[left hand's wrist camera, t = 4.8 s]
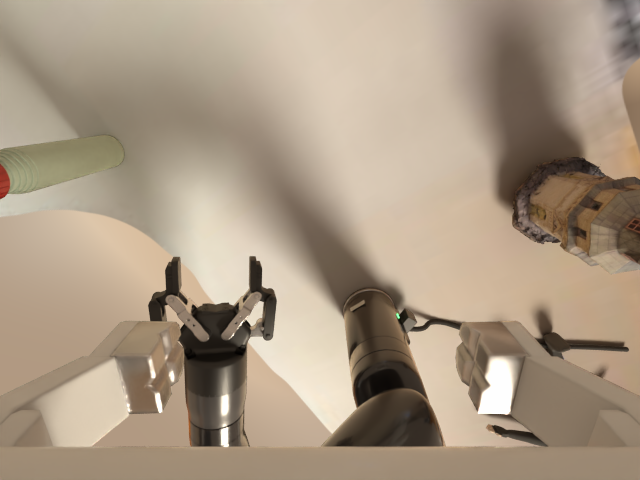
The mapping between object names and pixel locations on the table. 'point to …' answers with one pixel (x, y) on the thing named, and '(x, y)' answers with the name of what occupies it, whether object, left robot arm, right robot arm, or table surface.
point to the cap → (4, 182)
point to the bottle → (58, 161)
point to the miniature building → (582, 213)
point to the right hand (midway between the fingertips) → (215, 258)
